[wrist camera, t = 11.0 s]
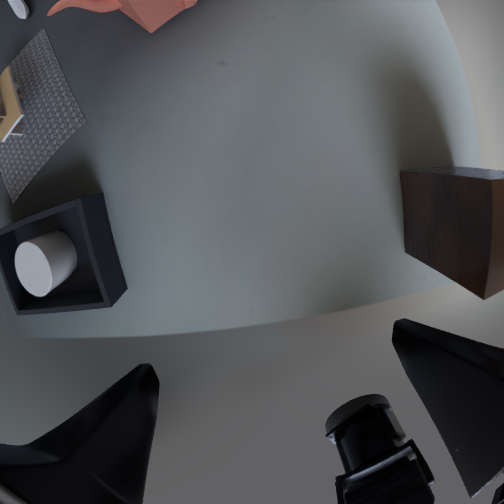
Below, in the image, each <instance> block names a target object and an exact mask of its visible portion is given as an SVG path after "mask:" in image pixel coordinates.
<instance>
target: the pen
mask: <svg viewBox="0 0 504 504" xmlns="http://www.w3.org/2000/svg"><path fill="white" fill-rule="evenodd" d="M8 1H9V3H10V5H11V7H12V9H13V10H14V12H15V14H16V15H17V16H18V17H19V18H21V19H26V18H27V17H28V15H29V9H28V6H27V5H26V3H25V2H24V0H8Z"/></svg>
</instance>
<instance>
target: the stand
mask: <svg viewBox="0 0 504 504" xmlns="http://www.w3.org/2000/svg"><path fill="white" fill-rule="evenodd" d="M400 177H401V186H402V196H403V208H404V224H405V252H406V253H407V254H409V255H411V256H412V257H414V258H416V259H418V260H419V261H421V262H423V263H425V264H426V265H428V266H430V267H431V268H433V269H435V270H437V271H438V272H440V273H442V274H443V275H445V276H447V277H448V278H450V279H451V280H453V281H455V282H456V283H458V284H460V285H461V286H463V287H464V288H466V289H467V290H469V291H471V292H472V293H474V294H475V295H477V296H478V297H480V298H481V299H483V300H486V299H487V298H489V297H491V296H493V295H495V294H497V293H498V292H500V291H502V290H504V171H500V170H491V169H481V168H470V167H456V166H454V167H439V168H427V169H415V170H405V171H400Z"/></svg>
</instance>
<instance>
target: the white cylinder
mask: <svg viewBox="0 0 504 504" xmlns="http://www.w3.org/2000/svg"><path fill="white" fill-rule="evenodd" d="M76 267H77V253H76V249H75V246H74V244H73V242H72V241H71V239H70V238H69V237H68V236H67V235H66V234H65V233H63V232H62V231H59V230H52V231H49V232H47V233H44V234H42V235H39V236H37V237H35V238H32V239H30V240H28V241H25V242H23V243H21V244H20V245H19V247H18V248H17V250H16V254H15V268H16V272H17V275H18V278H19V280H20V282H21V284H22V285H23V286H24V288H25V289H26V290H27V291H28V292H29V293H31V294H32V295H34V296H38V297H42V296H45V295H46V294H48V293H49V292H50V291H52V290H53V289H54V288H56V287H57V286H58V285H60V284H61V283H62V282H64V281H65V280H66V279H68V278H69V277H71V276H72V275H73V273H74V272H75V270H76Z"/></svg>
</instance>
